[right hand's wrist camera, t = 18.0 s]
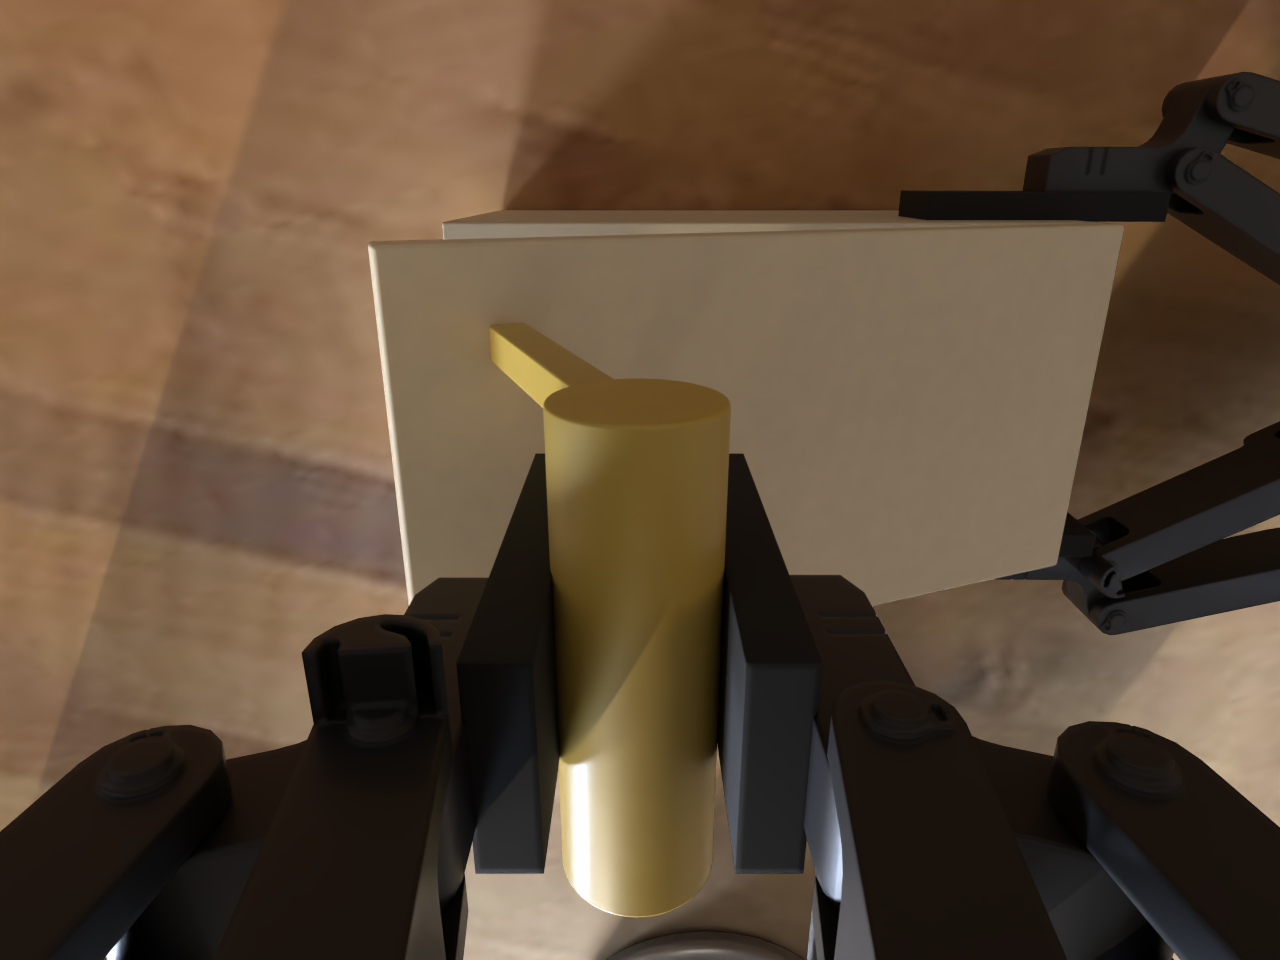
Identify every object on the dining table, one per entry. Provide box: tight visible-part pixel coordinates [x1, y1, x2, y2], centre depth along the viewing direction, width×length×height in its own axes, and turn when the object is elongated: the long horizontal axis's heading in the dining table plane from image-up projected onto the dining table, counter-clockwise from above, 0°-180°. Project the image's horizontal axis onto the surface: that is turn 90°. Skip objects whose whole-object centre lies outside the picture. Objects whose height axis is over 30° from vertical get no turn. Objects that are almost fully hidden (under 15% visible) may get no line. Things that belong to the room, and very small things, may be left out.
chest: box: [442, 210, 1098, 240], centre depth 27 cm, size 17×10×9 cm, turn 90°
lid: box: [368, 223, 1124, 917], centre depth 16 cm, size 18×10×9 cm, turn 89°
